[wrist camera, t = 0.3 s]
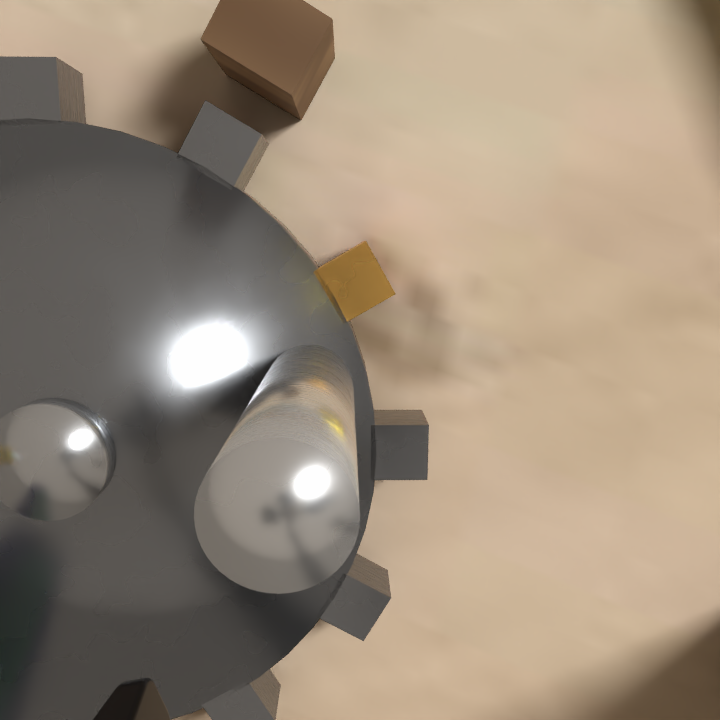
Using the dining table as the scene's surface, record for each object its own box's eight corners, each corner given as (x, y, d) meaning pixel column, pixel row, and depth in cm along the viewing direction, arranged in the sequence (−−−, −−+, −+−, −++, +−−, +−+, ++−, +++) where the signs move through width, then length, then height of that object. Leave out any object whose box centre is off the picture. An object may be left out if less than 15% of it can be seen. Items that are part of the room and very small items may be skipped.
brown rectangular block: (301, 120, 23) (291, 95, 19) (226, 74, 22) (200, 39, 18) (334, 58, 22) (332, 19, 18) (259, 10, 22) (240, -40, 18)
